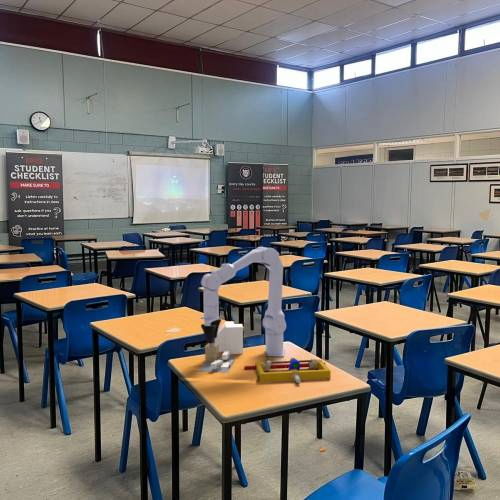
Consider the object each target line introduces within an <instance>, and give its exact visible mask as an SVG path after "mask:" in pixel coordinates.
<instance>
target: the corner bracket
mask: <svg viewBox="0 0 500 500" xmlns="http://www.w3.org/2000/svg"><path fill="white" fill-rule="evenodd" d="M243 330H244V327H243V323H237V324H236V323H234V321H225V322H224V323H223V324H221V325H220V326H219V328H218V333H217V338H214V344H219V353H224V351H225V350H230V355H243V354H244V331H243Z"/></svg>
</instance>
